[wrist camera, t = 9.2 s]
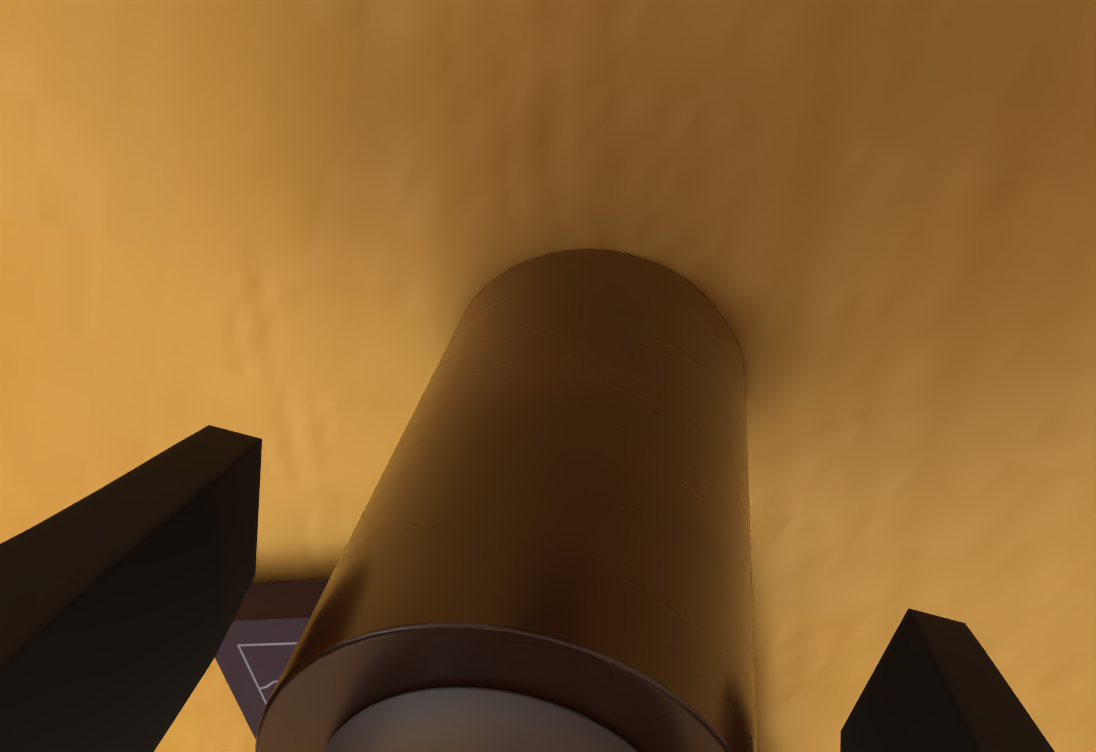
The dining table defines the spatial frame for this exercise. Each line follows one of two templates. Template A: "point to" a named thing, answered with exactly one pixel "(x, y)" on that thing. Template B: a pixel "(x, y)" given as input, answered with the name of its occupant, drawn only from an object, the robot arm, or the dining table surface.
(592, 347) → the pepper mill
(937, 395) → the dining table surface
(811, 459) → the dining table surface
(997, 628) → the dining table surface
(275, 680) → the chocolate bar
